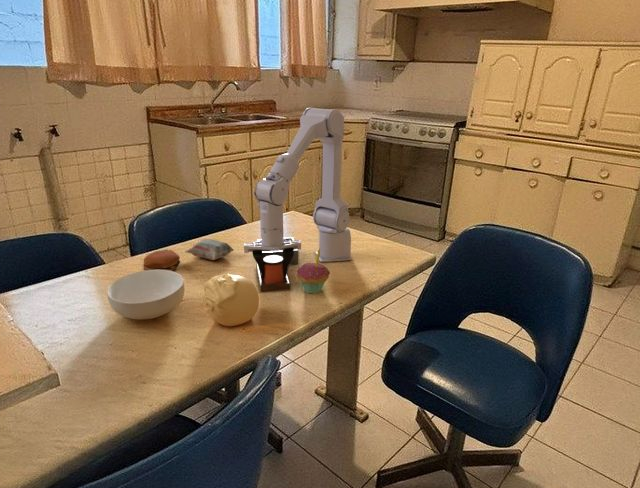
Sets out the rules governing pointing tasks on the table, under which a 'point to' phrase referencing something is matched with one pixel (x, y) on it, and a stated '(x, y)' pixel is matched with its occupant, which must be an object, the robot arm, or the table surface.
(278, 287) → the tray
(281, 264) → the container
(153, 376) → the table surface
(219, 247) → the packaged food
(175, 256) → the burger
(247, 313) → the sculpture
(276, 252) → the basin
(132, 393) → the table surface
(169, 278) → the cereal bowl
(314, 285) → the cupcake
